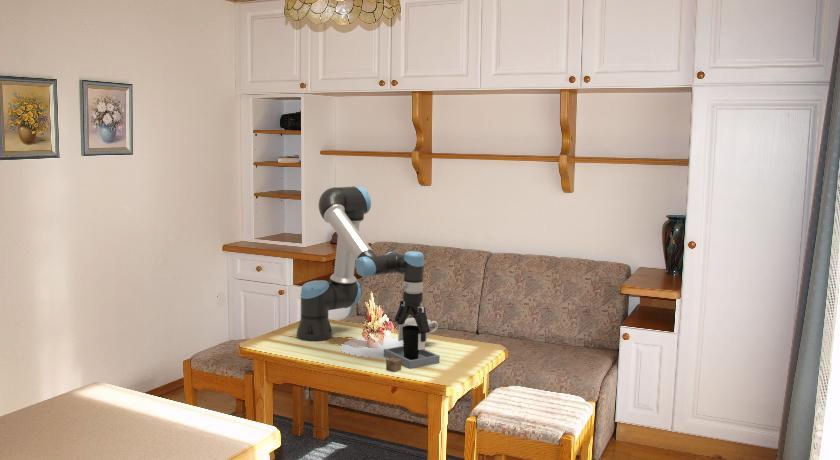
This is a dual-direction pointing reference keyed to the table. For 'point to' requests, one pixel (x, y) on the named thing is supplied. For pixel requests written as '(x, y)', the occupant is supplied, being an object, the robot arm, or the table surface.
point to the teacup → (412, 322)
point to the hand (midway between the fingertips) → (411, 344)
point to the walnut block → (393, 364)
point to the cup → (410, 342)
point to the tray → (423, 359)
